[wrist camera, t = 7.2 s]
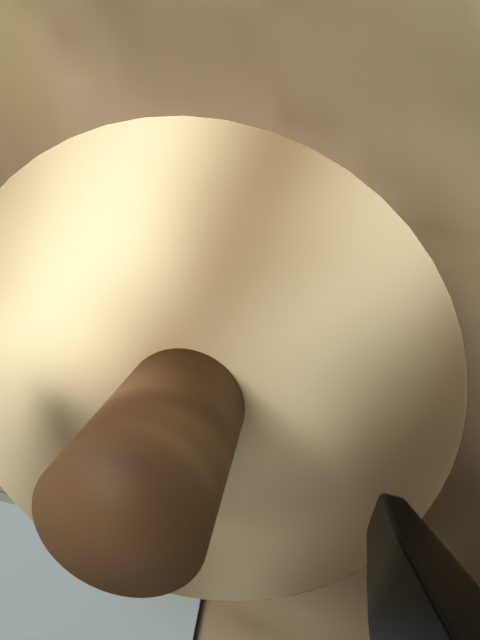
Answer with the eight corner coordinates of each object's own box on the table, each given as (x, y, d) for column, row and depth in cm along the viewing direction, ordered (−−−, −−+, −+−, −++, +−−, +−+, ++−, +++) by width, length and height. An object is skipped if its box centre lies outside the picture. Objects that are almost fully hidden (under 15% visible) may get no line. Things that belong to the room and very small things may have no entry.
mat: (211, 547, 20) (208, 556, 20) (171, 750, 26) (168, 760, 25) (-104, 464, 22) (-114, 470, 21) (-77, 673, 27) (-84, 681, 27)
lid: (546, 179, 9) (797, 194, 4) (370, 617, 13) (401, 855, 9) (-40, 75, 10) (-343, -3, 5) (-20, 511, 15) (-176, 672, 10)
